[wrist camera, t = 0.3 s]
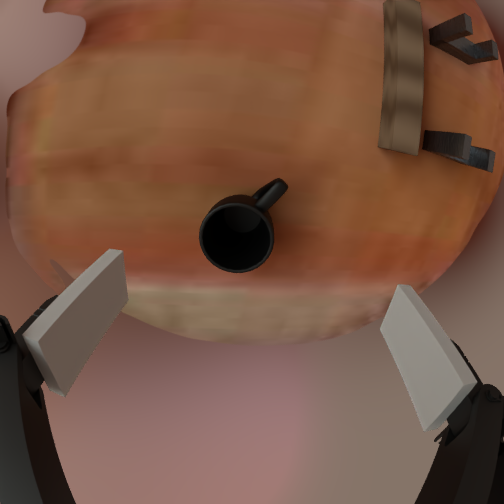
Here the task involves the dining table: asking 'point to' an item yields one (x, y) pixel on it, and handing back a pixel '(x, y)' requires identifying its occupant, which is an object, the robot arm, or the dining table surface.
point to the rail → (402, 77)
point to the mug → (241, 229)
